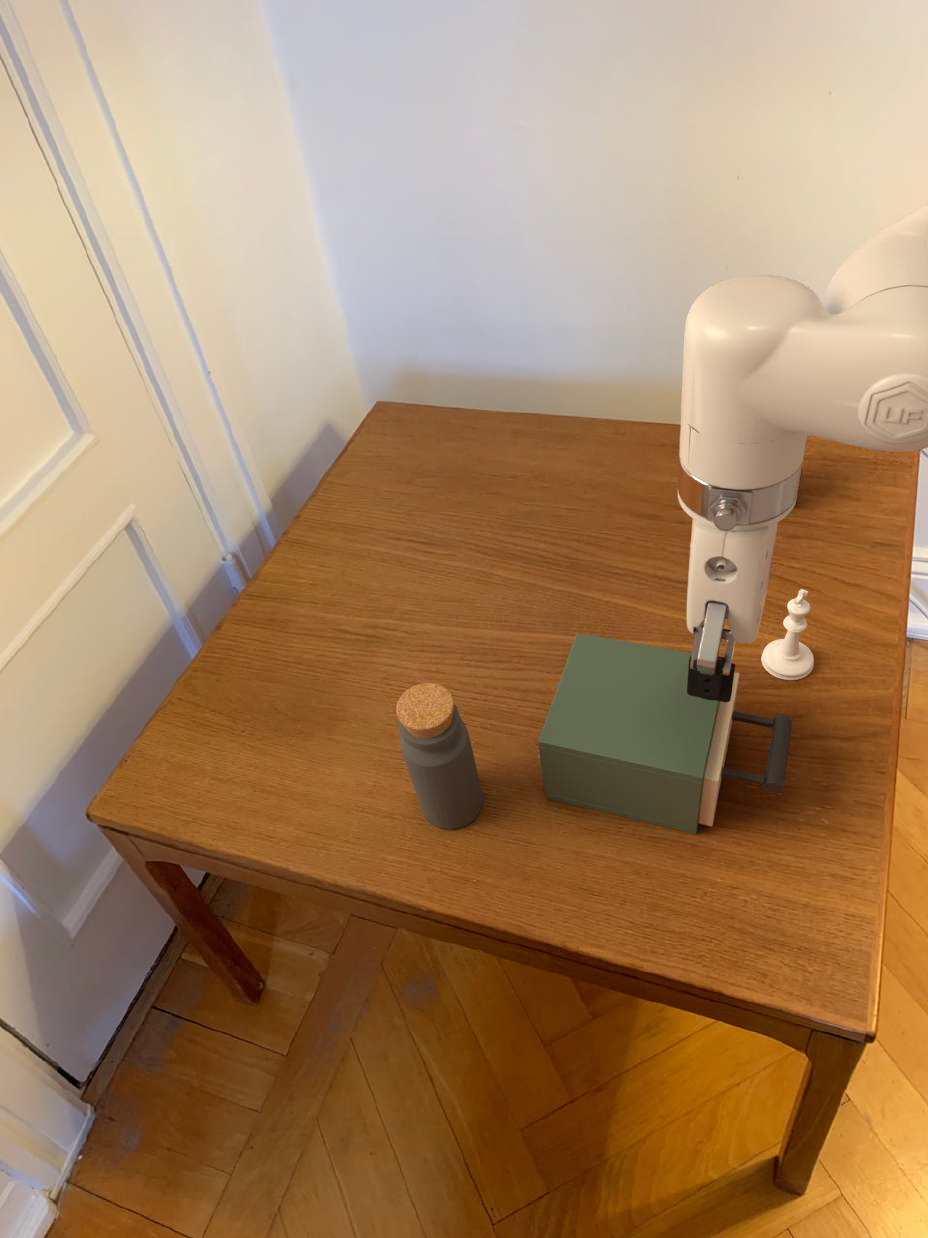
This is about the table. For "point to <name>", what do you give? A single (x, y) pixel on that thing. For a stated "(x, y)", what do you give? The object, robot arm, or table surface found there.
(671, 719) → the cabinet
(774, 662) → the chess piece
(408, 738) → the bottle
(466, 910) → the table surface
